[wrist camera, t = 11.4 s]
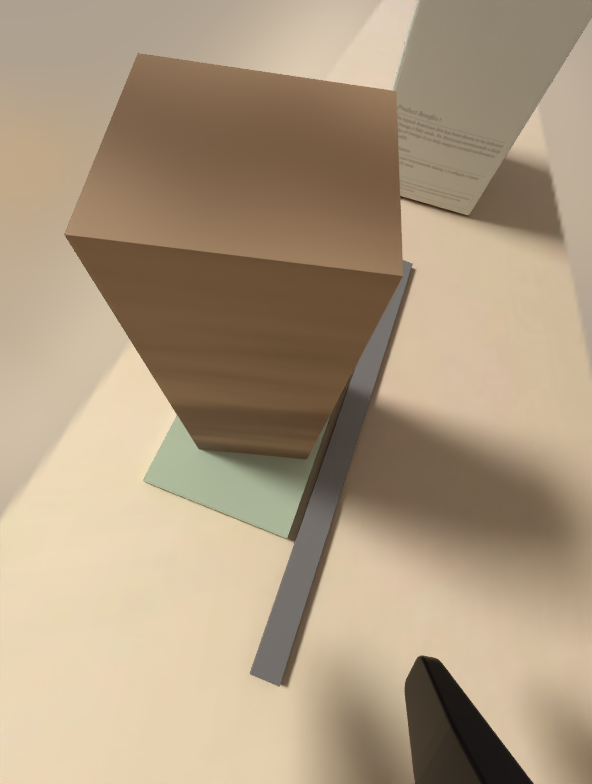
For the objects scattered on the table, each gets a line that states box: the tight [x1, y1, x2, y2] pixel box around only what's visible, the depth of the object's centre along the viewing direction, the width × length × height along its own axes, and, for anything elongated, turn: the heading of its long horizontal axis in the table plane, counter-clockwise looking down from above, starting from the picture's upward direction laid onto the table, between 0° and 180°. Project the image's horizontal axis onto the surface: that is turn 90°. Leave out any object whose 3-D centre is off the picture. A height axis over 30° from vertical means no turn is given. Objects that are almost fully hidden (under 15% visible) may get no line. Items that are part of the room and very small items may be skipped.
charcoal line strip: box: [250, 260, 412, 687], centre depth 19 cm, size 22×1×1 cm, turn 160°
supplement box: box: [391, 0, 592, 215], centre depth 21 cm, size 7×7×13 cm
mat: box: [143, 412, 332, 539], centre depth 19 cm, size 10×7×1 cm
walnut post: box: [64, 53, 403, 460], centre depth 13 cm, size 4×5×13 cm
